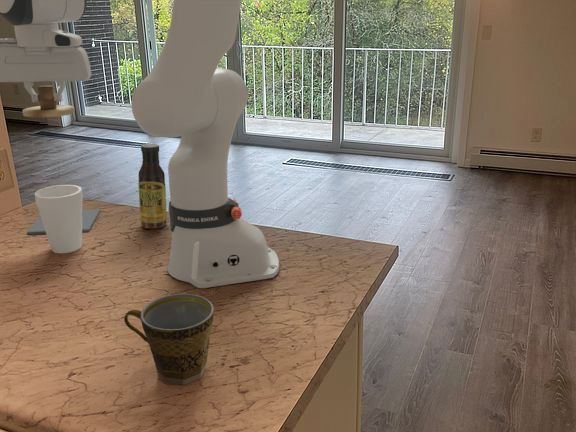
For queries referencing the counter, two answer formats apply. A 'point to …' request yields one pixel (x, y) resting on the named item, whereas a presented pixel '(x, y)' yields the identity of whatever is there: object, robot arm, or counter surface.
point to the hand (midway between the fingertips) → (47, 101)
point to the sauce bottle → (152, 189)
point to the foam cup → (61, 216)
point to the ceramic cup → (177, 335)
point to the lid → (47, 105)
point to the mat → (87, 222)
